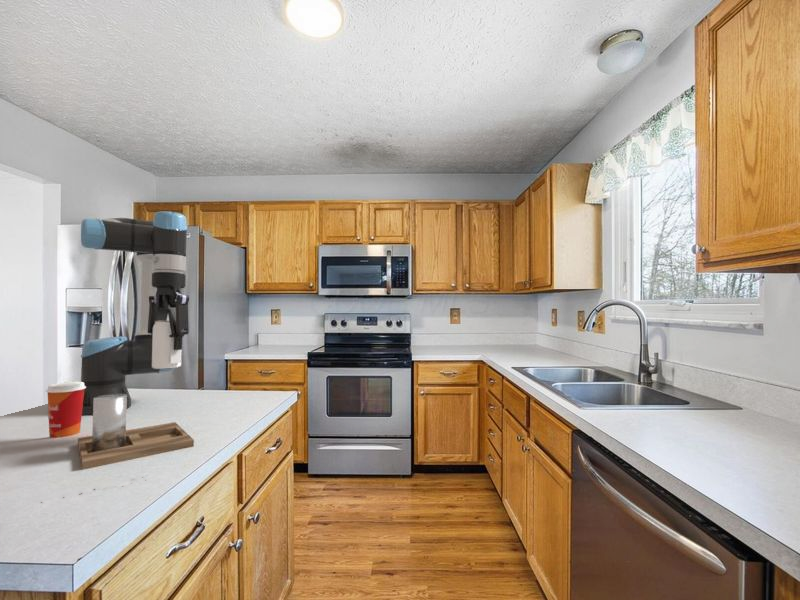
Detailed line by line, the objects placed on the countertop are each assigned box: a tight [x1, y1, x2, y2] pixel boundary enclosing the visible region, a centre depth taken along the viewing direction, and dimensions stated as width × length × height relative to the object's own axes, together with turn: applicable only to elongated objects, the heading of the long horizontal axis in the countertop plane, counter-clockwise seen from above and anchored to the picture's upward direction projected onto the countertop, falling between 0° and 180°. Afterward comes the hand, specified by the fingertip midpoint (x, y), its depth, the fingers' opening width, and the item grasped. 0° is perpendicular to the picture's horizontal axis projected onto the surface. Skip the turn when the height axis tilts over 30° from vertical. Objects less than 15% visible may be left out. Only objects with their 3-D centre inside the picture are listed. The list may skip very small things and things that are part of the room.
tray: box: [77, 421, 195, 470], centre depth 89 cm, size 18×20×3 cm
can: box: [152, 321, 183, 370], centre depth 99 cm, size 6×6×12 cm
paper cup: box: [45, 381, 86, 439], centre depth 97 cm, size 8×8×14 cm
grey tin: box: [91, 394, 128, 452], centre depth 86 cm, size 6×6×12 cm
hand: (166, 361), depth 98 cm, fingers closed on can, 6 cm apart
